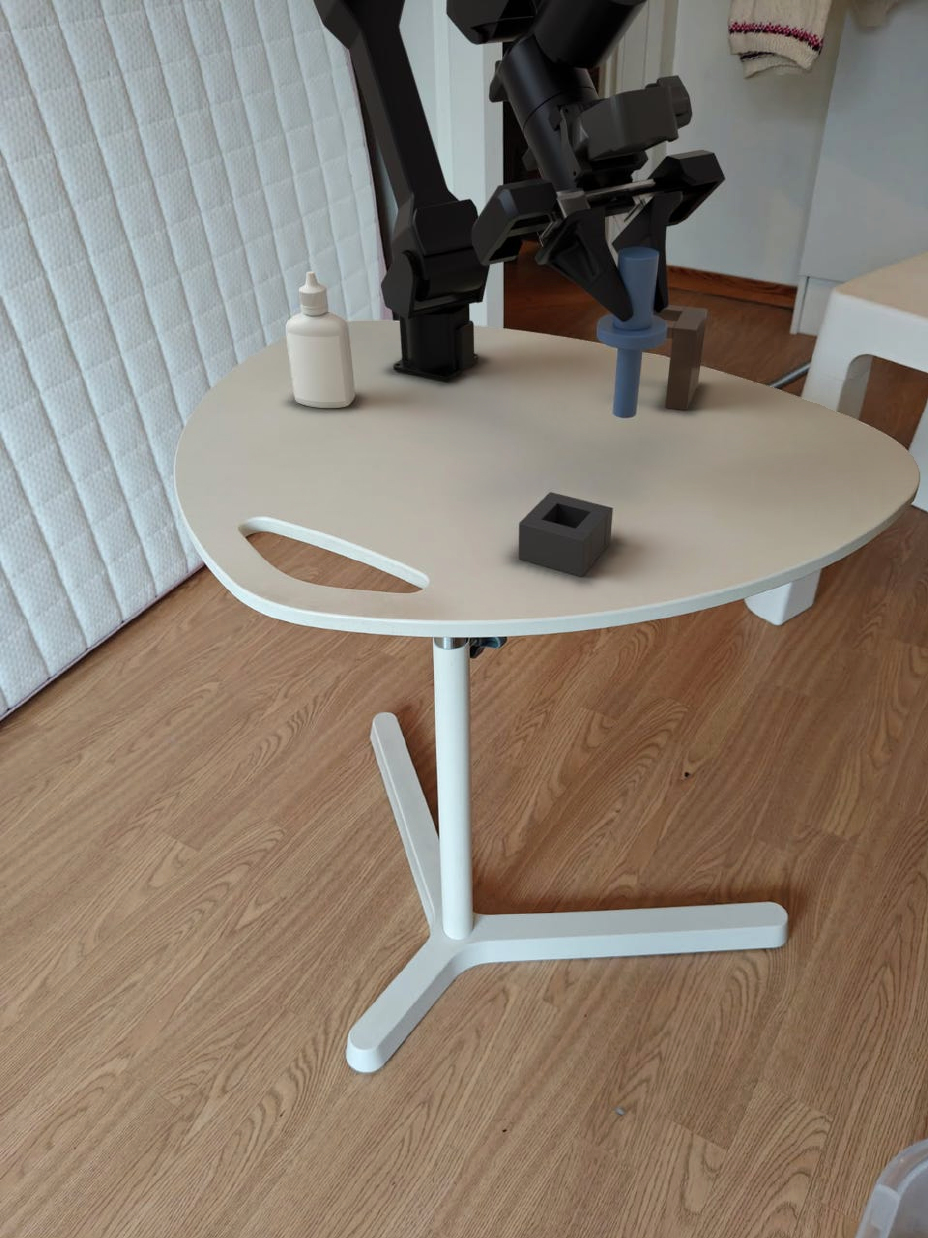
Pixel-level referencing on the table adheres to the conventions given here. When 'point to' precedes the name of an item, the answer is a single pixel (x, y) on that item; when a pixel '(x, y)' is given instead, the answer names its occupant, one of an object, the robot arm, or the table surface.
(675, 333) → the stand
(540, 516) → the holder
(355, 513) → the table surface
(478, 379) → the table surface
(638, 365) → the peg
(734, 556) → the table surface
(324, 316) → the eye dropper bottle
